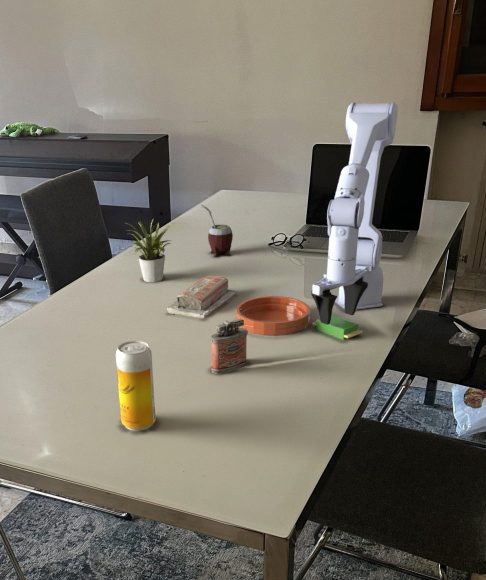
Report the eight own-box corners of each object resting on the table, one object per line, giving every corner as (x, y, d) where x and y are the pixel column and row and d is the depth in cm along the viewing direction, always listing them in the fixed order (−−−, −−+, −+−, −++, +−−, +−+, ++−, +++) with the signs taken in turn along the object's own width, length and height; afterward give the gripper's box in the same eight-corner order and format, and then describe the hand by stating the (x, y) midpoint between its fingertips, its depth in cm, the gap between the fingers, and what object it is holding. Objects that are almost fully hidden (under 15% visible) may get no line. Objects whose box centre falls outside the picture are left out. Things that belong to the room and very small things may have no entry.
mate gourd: (236, 252, 215) (236, 200, 208) (224, 259, 209) (224, 206, 202) (214, 249, 219) (213, 198, 211) (201, 256, 213) (200, 204, 206)
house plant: (113, 286, 196) (108, 224, 188) (133, 269, 207) (129, 211, 199) (163, 290, 191) (160, 227, 183) (181, 273, 202) (179, 213, 194)
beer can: (120, 417, 134) (114, 341, 127) (154, 414, 134) (149, 338, 127) (122, 433, 129) (116, 356, 121) (157, 430, 129) (152, 352, 122)
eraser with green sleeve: (325, 324, 165) (326, 312, 164) (361, 338, 158) (362, 326, 156) (311, 329, 163) (312, 317, 162) (347, 343, 156) (348, 331, 154)
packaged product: (200, 271, 187) (236, 276, 182) (200, 289, 189) (236, 295, 185) (165, 295, 174) (203, 300, 169) (166, 314, 176) (204, 320, 172)
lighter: (216, 375, 146) (216, 329, 141) (207, 369, 149) (207, 323, 144) (250, 365, 149) (251, 319, 144) (241, 359, 152) (241, 314, 147)
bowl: (293, 306, 176) (294, 292, 174) (320, 332, 162) (321, 317, 160) (227, 315, 174) (227, 301, 172) (249, 342, 159) (249, 327, 158)
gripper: (351, 245, 158) (346, 304, 165) (303, 260, 151) (299, 321, 158) (377, 252, 153) (371, 313, 160) (328, 268, 146) (324, 331, 153)
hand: (337, 318), depth 159 cm, fingers open, 7 cm apart
